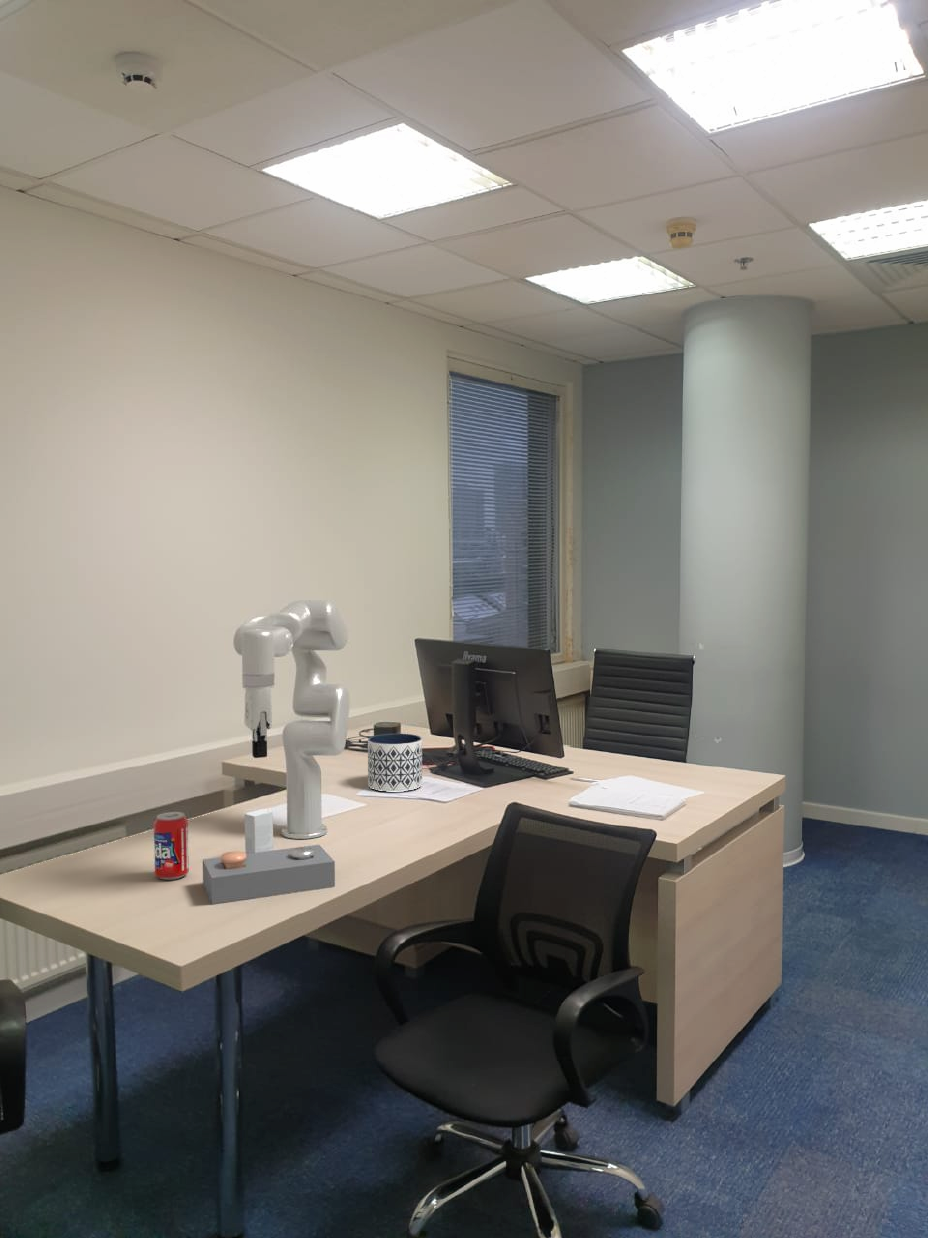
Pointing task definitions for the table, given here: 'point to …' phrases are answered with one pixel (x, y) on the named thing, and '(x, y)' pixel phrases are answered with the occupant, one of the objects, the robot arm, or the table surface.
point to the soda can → (171, 846)
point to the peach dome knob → (233, 859)
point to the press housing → (267, 875)
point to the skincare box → (258, 831)
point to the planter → (394, 762)
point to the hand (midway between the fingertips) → (259, 756)
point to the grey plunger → (301, 853)
